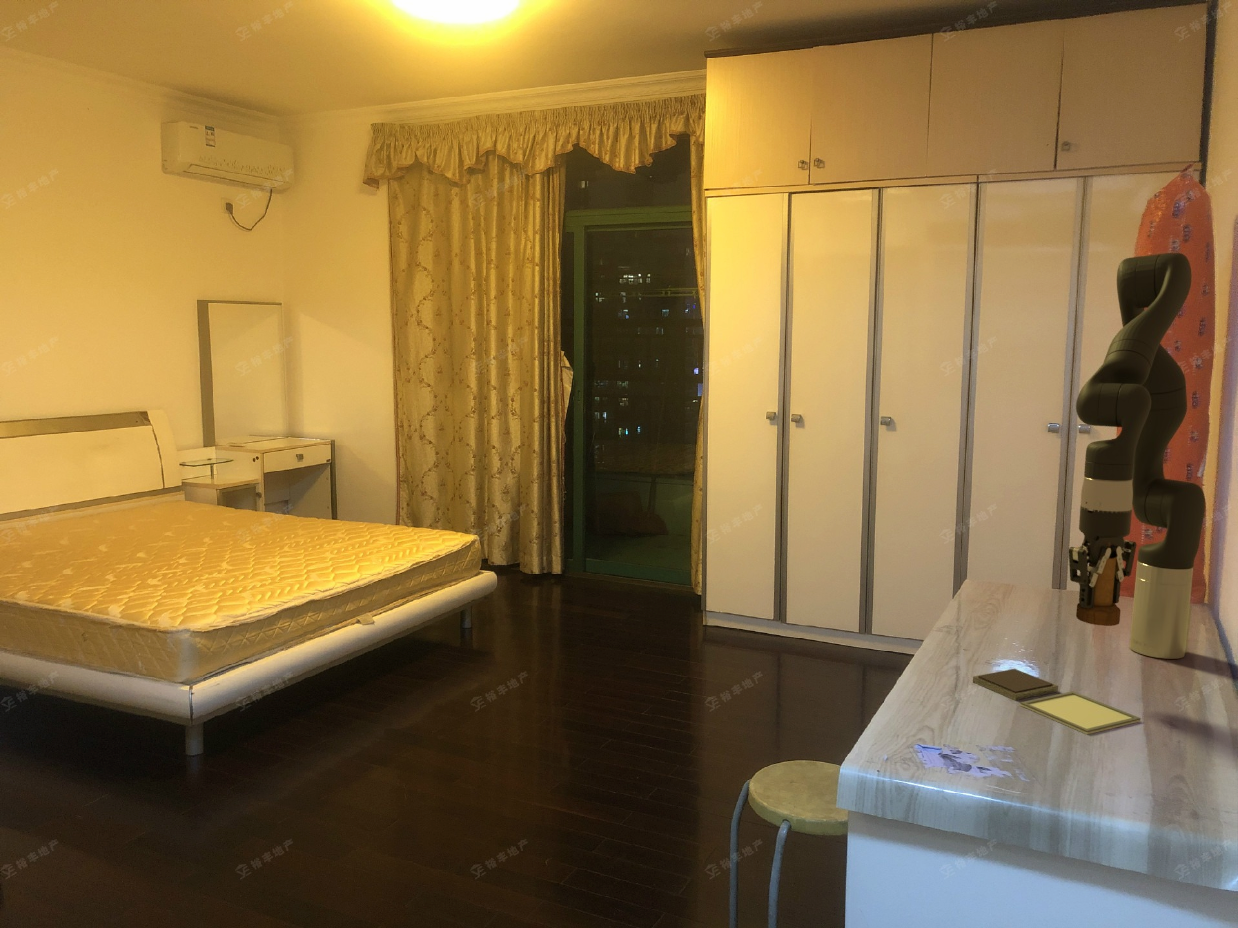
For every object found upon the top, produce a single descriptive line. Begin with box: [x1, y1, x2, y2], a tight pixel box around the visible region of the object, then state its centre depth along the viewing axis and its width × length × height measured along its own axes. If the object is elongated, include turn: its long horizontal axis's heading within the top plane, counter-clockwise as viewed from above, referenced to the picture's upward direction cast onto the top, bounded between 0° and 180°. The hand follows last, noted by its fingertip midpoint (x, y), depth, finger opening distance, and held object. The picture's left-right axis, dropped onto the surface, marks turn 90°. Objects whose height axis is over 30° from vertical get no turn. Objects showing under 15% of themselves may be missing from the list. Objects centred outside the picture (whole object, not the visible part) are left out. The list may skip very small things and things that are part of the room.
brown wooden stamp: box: [1075, 542, 1121, 627], centre depth 155 cm, size 7×6×18 cm
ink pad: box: [972, 668, 1059, 701], centre depth 159 cm, size 10×9×1 cm
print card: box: [1019, 690, 1142, 735], centre depth 148 cm, size 12×12×1 cm
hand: (1098, 604), depth 156 cm, fingers closed on brown wooden stamp, 5 cm apart
